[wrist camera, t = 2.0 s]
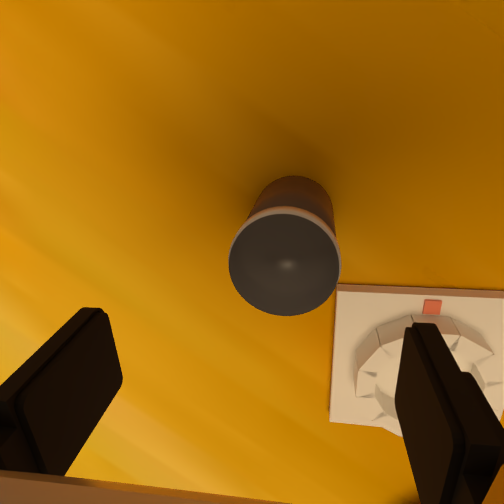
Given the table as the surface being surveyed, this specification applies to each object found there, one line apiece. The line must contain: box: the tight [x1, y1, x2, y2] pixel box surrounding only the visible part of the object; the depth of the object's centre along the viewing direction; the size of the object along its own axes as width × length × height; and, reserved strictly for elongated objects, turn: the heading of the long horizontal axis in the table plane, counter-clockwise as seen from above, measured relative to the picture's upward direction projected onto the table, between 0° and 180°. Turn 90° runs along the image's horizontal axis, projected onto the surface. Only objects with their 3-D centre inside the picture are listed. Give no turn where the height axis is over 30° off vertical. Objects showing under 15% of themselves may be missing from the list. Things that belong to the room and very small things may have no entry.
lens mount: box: [329, 284, 504, 437], centre depth 25 cm, size 12×12×3 cm
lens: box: [229, 176, 341, 316], centre depth 20 cm, size 5×5×8 cm
